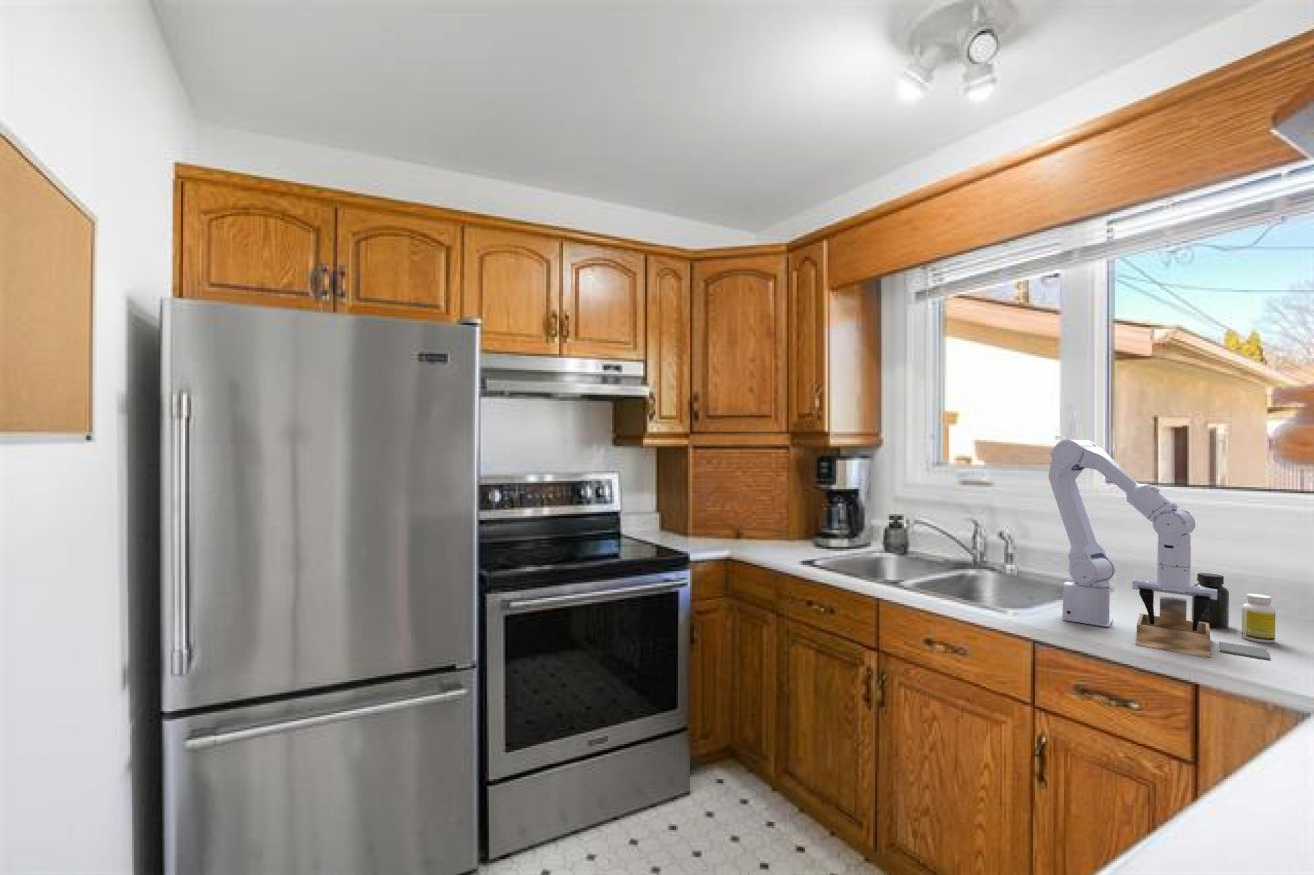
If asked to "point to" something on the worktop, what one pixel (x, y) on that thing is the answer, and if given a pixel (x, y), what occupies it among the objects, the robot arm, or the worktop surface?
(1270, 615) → the supplement bottle
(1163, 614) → the block
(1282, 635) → the worktop surface
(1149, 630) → the wooden tray
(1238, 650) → the pad
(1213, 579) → the supplement bottle
